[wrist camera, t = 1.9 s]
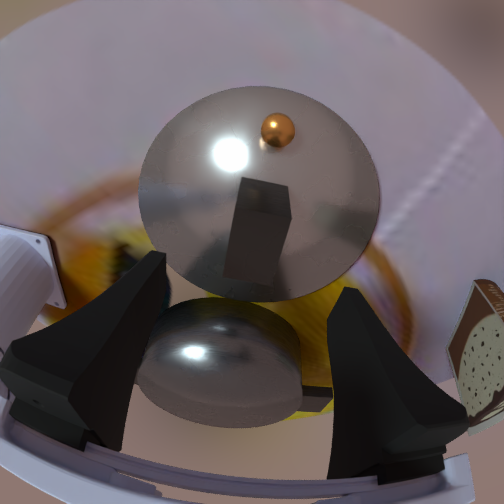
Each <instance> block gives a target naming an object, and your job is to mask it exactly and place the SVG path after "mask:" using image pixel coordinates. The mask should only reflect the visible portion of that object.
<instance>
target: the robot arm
mask: <svg viewBox="0 0 504 504" xmlns="http://www.w3.org/2000/svg"><path fill="white" fill-rule="evenodd" d="M166 254H167V253H163V252H158V251H153V250H151V251H150V252H149V253H148V254H147V255H145V256H144V257H143V258H142V259H141V260H140V261H139V262H138V263H137V264H136V265H135V266H134V267H133V268H132V269H130V270H129V271H128V272H127V273H126V274H125V275H124V276H122V277H121V278H120V279H119V280H118V281H117V282H116V283H114V284H113V285H112V286H111V287H109V288H108V289H107V290H106V291H104V292H103V293H102V294H101V295H99V296H98V297H96V298H95V299H94V300H92V301H91V302H90V303H88V304H87V305H85V306H84V307H82V308H81V309H79V310H77V311H76V312H74V313H72V314H71V315H69V316H67V317H65V318H64V319H62V320H60V321H58V322H56V323H54V324H52V325H50V326H48V327H46V328H44V329H42V330H39V331H37V332H35V333H32V334H29V335H27V336H26V334H27V332H28V331H29V329H30V328H31V326H32V324H33V323H34V321H35V319H36V318H37V316H38V314H39V313H40V311H41V310H42V308H43V306H44V305H45V303H47V304H49V305H52V306H55V307H59V308H62V309H65V308H66V306H67V303H66V300H65V297H64V294H63V290H62V287H61V284H60V280H59V277H58V273H57V269H56V265H55V261H54V257H53V253H52V249H51V245H50V241H49V239H48V237H47V236H45V235H42V234H37V233H33V232H29V231H25V230H20V229H16V228H12V227H8V226H4V225H0V465H1V466H2V467H4V468H5V469H7V470H8V471H10V472H11V473H13V474H14V475H16V476H18V477H19V478H21V479H22V480H24V481H26V482H28V483H29V484H31V485H33V486H35V487H36V488H38V489H40V490H42V491H43V492H45V493H47V494H49V495H51V496H53V497H55V498H57V499H59V500H61V501H63V502H65V503H67V504H202V503H195V502H188V501H182V500H176V499H171V498H165V497H162V493H161V492H160V491H158V490H156V487H155V486H154V485H152V484H149V483H146V482H143V481H140V480H137V479H134V478H131V477H129V476H126V475H130V476H133V477H136V478H140V479H143V480H147V481H151V482H155V483H159V484H164V485H168V486H173V487H178V488H183V489H188V490H194V491H200V492H206V493H213V494H221V495H229V496H240V497H252V498H271V499H272V498H274V499H310V498H331V497H340V498H334V499H326V500H318V501H317V502H315V503H312V504H469V503H471V502H473V501H474V500H475V493H474V486H473V480H472V474H471V468H470V463H469V458H468V454H467V453H463V454H460V455H456V456H452V457H449V458H446V459H444V460H443V455H442V454H444V453H446V444H448V443H449V442H451V441H453V440H454V439H456V438H457V437H459V436H460V435H462V434H463V433H464V432H465V431H467V430H468V428H469V426H470V422H469V418H468V414H467V411H466V407H465V406H463V405H462V404H460V403H459V402H457V401H456V400H455V399H453V398H452V397H450V396H449V395H448V394H446V393H445V392H444V391H443V390H442V389H440V388H439V387H438V386H437V385H436V384H434V383H433V382H432V381H431V380H430V379H429V378H428V377H427V376H426V375H425V374H424V373H423V372H422V371H421V370H420V369H419V368H418V367H417V366H416V365H415V364H414V363H413V362H412V361H411V360H410V359H409V357H408V356H407V355H406V354H405V353H404V352H403V351H402V349H401V348H400V347H399V346H398V344H397V343H396V342H395V340H394V339H393V338H392V337H391V335H390V334H389V332H388V331H387V330H386V328H385V327H384V326H383V324H382V323H381V321H380V320H379V318H378V317H377V316H376V314H375V313H374V311H373V310H372V308H371V307H370V305H369V304H368V302H367V301H366V300H365V298H364V297H363V295H362V294H361V293H360V291H359V290H358V289H356V288H350V287H344V288H343V290H342V292H341V294H340V296H339V298H338V300H337V302H336V304H335V306H334V308H333V309H332V311H331V313H330V315H329V317H328V319H327V343H328V351H329V358H330V365H331V373H332V381H333V390H334V422H333V438H332V448H331V456H330V463H329V469H328V475H327V480H273V479H256V478H245V477H234V476H226V475H219V474H211V473H205V472H199V471H193V470H188V469H183V468H178V467H173V466H168V465H164V464H160V463H155V462H152V461H148V460H144V459H140V458H137V457H133V456H130V455H126V454H123V453H120V452H119V451H121V449H122V441H123V434H124V427H125V422H126V417H127V412H128V407H129V402H130V398H131V393H132V389H133V385H134V381H135V377H136V373H137V369H138V366H139V363H140V360H141V357H142V354H143V352H144V349H145V347H146V344H147V342H148V339H149V337H150V335H151V332H152V330H153V327H154V325H155V323H156V320H157V318H158V315H159V313H160V310H161V306H162V303H163V299H164V296H165V292H166ZM118 472H119V473H118ZM120 473H122V474H120ZM123 474H126V475H123Z"/></svg>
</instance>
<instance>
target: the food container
mask: <svg viewBox="0 0 504 504" xmlns="http://www.w3.org/2000/svg"><path fill="white" fill-rule="evenodd" d="M446 351H447V354H448V357H449V361H450V364H451V367H452V370H453V374H454V377H455V381H456V384H457V388H458V392H459V396H460V400H461V404H462V405H463V406H465V407H466V411H467V414H468V418H469V422H470V426H469V428H468V430H467V431H468V435H469V436H471V435H474V434H476V433H479V432H481V431H483V430H485V429H487V428H489V427H491V426H493V425H495V424H496V423H498V422H500V421H502V420H503V419H504V293H503V292H502V290H501V289H500V288H499V287H498V286H497V284H496V283H494V282H493V281H490V280H487V279H479V280H474V281H473V284H472V286H471V289H470V292H469V295H468V297H467V300H466V302H465V305H464V308H463V310H462V312H461V315H460V317H459V320H458V322H457V324H456V327H455V329H454V331H453V333H452V336H451V338H450V340H449V342H448V344H447V346H446Z"/></svg>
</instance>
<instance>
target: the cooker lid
mask: <svg viewBox="0 0 504 504" xmlns="http://www.w3.org/2000/svg"><path fill="white" fill-rule="evenodd" d="M138 196H139V208H140V213H141V218H142V221H143V224H144V227H145V230H146V232H147V234H148V236H149V238H150V240H151V242H152V244H153V246H154V247H155V249H156V250H157V251H158V252H163V253H167V254H166V263H167V264H168V265H169V266H170V267H172V268H173V269H174V270H175V271H176V272H177V273H178V274H179V275H181V276H182V277H184V278H185V279H186V280H188V281H189V282H191V283H193V284H194V285H196V286H198V287H200V288H202V289H204V290H206V291H208V292H210V293H213V294H216V295H219V296H222V297H225V298H229V299H234V300H239V301H247V302H277V301H283V300H289V299H293V298H297V297H301V296H304V295H306V294H309V293H312V292H314V291H316V290H318V289H320V288H322V287H324V286H326V285H328V284H329V283H331V282H332V281H334V280H335V279H337V278H338V277H339V276H340V275H342V274H343V273H344V272H345V271H346V270H348V268H349V267H350V266H351V265H352V264H353V263H354V262H355V261H356V260H357V259H358V257H359V256H360V254H361V253H362V252H363V250H364V249H365V247H366V245H367V243H368V241H369V240H370V238H371V235H372V232H373V230H374V227H375V224H376V220H377V215H378V209H379V185H378V179H377V175H376V171H375V167H374V164H373V162H372V159H371V157H370V154H369V152H368V151H367V149H366V147H365V146H364V144H363V142H362V140H361V139H360V138H359V136H358V135H357V134H356V133H355V131H354V130H353V129H352V128H351V127H350V126H349V125H348V124H347V123H346V122H345V121H344V120H343V119H342V118H341V117H340V116H339V115H337V114H336V113H335V112H334V111H332V110H331V109H329V108H328V107H326V106H325V105H323V104H322V103H320V102H318V101H316V100H314V99H312V98H310V97H308V96H306V95H304V94H300V93H297V92H294V91H291V90H287V89H282V88H276V87H269V86H246V87H239V88H232V89H228V90H224V91H221V92H217V93H214V94H211V95H209V96H207V97H205V98H203V99H200V100H198V101H196V102H195V103H193V104H192V105H190V106H189V107H187V108H186V109H184V110H183V111H181V112H180V113H178V114H177V115H176V116H175V117H174V118H173V119H172V120H171V121H169V122H168V123H167V124H166V126H165V127H164V128H163V129H162V130H161V132H160V133H159V134H158V135H157V137H156V138H155V140H154V141H153V143H152V145H151V147H150V148H149V150H148V152H147V155H146V157H145V160H144V162H143V165H142V169H141V174H140V178H139V189H138Z"/></svg>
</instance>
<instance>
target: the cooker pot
mask: <svg viewBox="0 0 504 504" xmlns="http://www.w3.org/2000/svg"><path fill="white" fill-rule="evenodd" d="M134 384H137V385H139V387H140V389H141V390H142V392H143V393H144V394H145V396H146V397H147V398H148V399H149V400H151V401H152V402H153V403H154V404H156V405H157V406H158V407H160V408H162V409H163V410H165V411H167V412H169V413H171V414H173V415H175V416H178V417H180V418H183V419H186V420H189V421H192V422H195V423H199V424H204V425H209V426H216V427H224V428H251V427H259V426H265V425H269V424H273V423H276V422H279V421H281V420H284V419H286V418H288V417H290V416H291V415H292V414H294V413H295V412H296V411H304V412H321V411H322V410H323V408H324V407H325V406H326V405H327V404H328V403H329V402H330V401H331V400H332V399H333V390H332V387H317V386H305V385H302V373H301V354H300V342H299V338H298V336H297V334H296V332H295V331H294V329H293V328H292V327H291V326H290V325H289V324H288V323H287V322H286V321H285V320H284V319H283V318H281V317H280V316H278V315H277V314H275V313H273V312H272V311H270V310H268V309H266V308H263V307H261V306H258V305H255V304H252V303H249V302H245V301H239V300H234V299H229V298H215V297H211V298H198V299H192V300H188V301H184V302H180V303H178V304H175V305H173V306H171V307H170V308H168V309H166V310H165V311H164V312H163V313H162V314H161V315H160V316H159V317H158V318H157V320H156V323H155V325H154V327H153V330H152V333H151V336H150V339H149V342H148V344H147V347H146V350H145V353H144V356H143V358H141V360H140V363H139V366H138V369H137V373H136V377H135V381H134Z"/></svg>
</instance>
